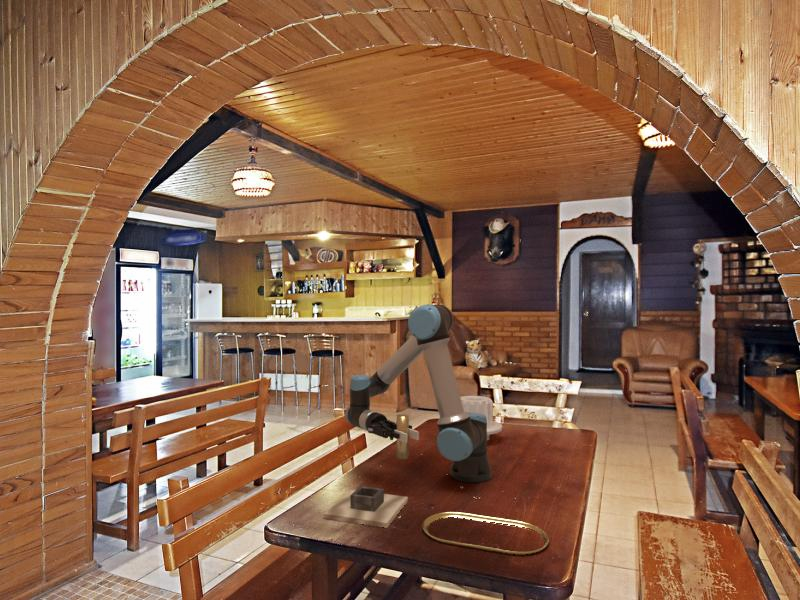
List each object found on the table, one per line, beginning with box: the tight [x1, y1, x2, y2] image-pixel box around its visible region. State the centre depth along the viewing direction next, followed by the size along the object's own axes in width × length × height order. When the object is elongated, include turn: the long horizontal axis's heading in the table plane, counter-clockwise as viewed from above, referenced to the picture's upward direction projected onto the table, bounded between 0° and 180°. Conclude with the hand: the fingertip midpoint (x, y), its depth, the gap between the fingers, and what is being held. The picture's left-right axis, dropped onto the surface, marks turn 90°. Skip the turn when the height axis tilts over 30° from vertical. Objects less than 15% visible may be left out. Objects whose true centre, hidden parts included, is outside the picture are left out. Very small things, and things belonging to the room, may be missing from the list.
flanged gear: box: [460, 395, 503, 441], centre depth 238 cm, size 25×25×19 cm
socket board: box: [323, 485, 409, 529], centre depth 161 cm, size 20×20×6 cm
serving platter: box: [422, 511, 550, 556], centre depth 144 cm, size 19×35×2 cm, turn 70°
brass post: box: [396, 413, 410, 460], centre depth 173 cm, size 4×4×14 cm
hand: (412, 437), depth 169 cm, fingers closed on brass post, 4 cm apart
